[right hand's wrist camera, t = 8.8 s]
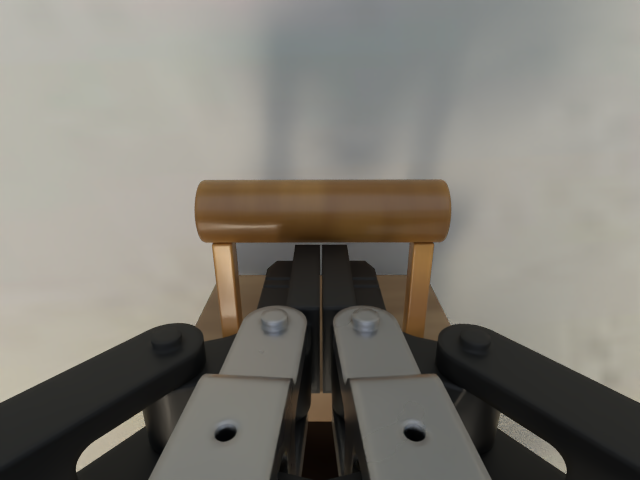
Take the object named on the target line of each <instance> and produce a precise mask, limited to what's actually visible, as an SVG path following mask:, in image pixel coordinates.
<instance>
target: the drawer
mask: <svg viewBox="0 0 640 480" xmlns="http://www.w3.org/2000/svg"><path fill="white" fill-rule="evenodd" d="M450 221H451V198H450V192H449V188H448V186H447V184H446V182H445V181H444V180H441V179H440V180H204V181H202V182H200V184H199V186H198V188H197V192H196V197H195V222H196V227H197V231H198V234H199V237H200V239H201V240H202V241H203V242H206V243H213V244H212V250H213V258H214V267H215V276H216V285H215V287H214V289H213V291H212V293H211V295H210V297H209V299H208V301H207V303H206V305H205V307H204V309H203V311H202V313H201V315H200V317H199V320H198V322H197V324H196V326H195V327H197V328H199V329H200V330H201V331H202V333H203V336H204V341H209V340H214V339H219V338H224V337H228V336H231V335H234V334H236V333H238V330H239V328H240V326H241V324H242V321H243V320H244V318H245V317H246V316H247V315H248V314H249V313H251V312H253V311H255V310H257V307H258V303H259V299H260V296H261V292H262V288H263V285H264V281H265V277H266V275H239V274H238V262H237V251H236V243H275V242H410V246H409V258H408V269H407V275H376V276H377V280H378V283H379V288H380V290H381V294H382V297H383V301H384V304H385V308H386V311H387V312H389V313H391V314H392V315H393V316H394V317H395V318H396V320H397V321H398V324H399V326H400V328H401V330H402V331H403V332H405V333H407V334H410V335H413V336H416V337H420V338H425V339H430V340H435V341H438V335H439V333H440V332H441V330H443V329H444V328H446V327H448V326H451V325H450V323H449V321H448V319H447V317H446V315H445V313H444V311H443V309H442V307H441V305H440V303H439V301H438V299H437V297H436V295H435V293H434V291H433V289H432V287H431V285H430V277H431V268H432V259H433V250H434V243H433V242H442V241H444V240H445V238H446V236H447V234H448V231H449V227H450ZM301 477H304V478H308V479H312V480H328V479H332V478H336V477H339V475H338V467H337V459H336V451H335V444H334V436H333V428H332V393H323V361H322V275H320V393H311V406H310V409H309V411H308V428H307V436H306V444H305V451H304V459H303V467H302V475H301Z"/></svg>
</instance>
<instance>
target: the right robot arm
mask: <svg viewBox="0 0 640 480" xmlns="http://www.w3.org/2000/svg"><path fill="white" fill-rule="evenodd" d="M322 361H323V393H332V428H333V436H334V444H335V451H336V459H337V467H338V475H339V477H336V478H332V479H328V480H640V403H638V402H636V401H634V400H632V399H630V398H628V397H626V396H624V395H622V394H620V393H618V392H616V391H614V390H612V389H610V388H608V387H606V386H604V385H602V384H600V383H598V382H596V381H594V380H592V379H590V378H588V377H586V376H584V375H582V374H580V373H578V372H575V371H573V370H571V369H569V368H567V367H565V366H563V365H561V364H559V363H557V362H555V361H553V360H551V359H549V358H547V357H545V356H543V355H541V354H539V353H537V352H535V351H533V350H531V349H529V348H527V347H525V346H523V345H521V344H519V343H517V342H515V341H512V340H510V339H508V338H506V337H504V336H502V335H500V334H498V333H496V332H494V331H492V330H490V329H487V328H484V327H481V326H477V325H471V324H456V325H451V326H448V327H446V328H444V329H443V330H441V332H440V333H439V335H438V341H435V340H430V339H425V338H420V337H416V336H413V335H410V334H407V333H405V332H403V331H402V330H401V328H400V326H399V324H398V321H397V320H396V318H395V317H394V316H393V315H392V314H391V313H389V312H387V311H386V308H385V304H384V301H383V297H382V294H381V290H380V288H379V283H378V280H377V276H376V272H375V269H374V268H373V267H372V266H370V265H369V264H368V263H367V262H366V261H349V255H348V249H347V245H322ZM311 393H320V245H295V251H294V257H293V261H277V262H275V263H274V264H273V265H272V266H271V267H269V268H268V270H267V273H266V277H265V281H264V285H263V288H262V292H261V296H260V299H259V303H258V307H257V310H255V311H253V312H251V313H249V314H248V315H247V316H246V317H245V318H244V320H243V321H242V324H241V326H240V328H239V330H238V333H236V334H234V335H231V336H228V337H224V338H219V339H214V340H209V341H204V336H203V333H202V331H201V330H200V329H199V328H197V327H195V326H193V325H190V324H184V323H173V324H166V325H162V326H158V327H155V328H152V329H150V330H148V331H146V332H144V333H142V334H140V335H138V336H136V337H134V338H132V339H130V340H128V341H126V342H123V343H121V344H119V345H117V346H115V347H113V348H111V349H109V350H107V351H105V352H103V353H101V354H99V355H97V356H95V357H93V358H91V359H89V360H87V361H85V362H83V363H81V364H79V365H77V366H75V367H73V368H71V369H69V370H67V371H65V372H62V373H60V374H58V375H56V376H54V377H52V378H50V379H48V380H46V381H44V382H42V383H40V384H38V385H36V386H34V387H32V388H30V389H28V390H26V391H24V392H22V393H20V394H18V395H16V396H14V397H12V398H10V399H8V400H6V401H4V402H2V403H0V480H312V479H308V478H304V477H301V475H302V467H303V459H304V451H305V444H306V436H307V428H308V411H309V409H310V406H311ZM142 410H143V415H144V420H145V425H146V426H145V427H144V428H142V429H141V430H139V431H138V432H136V433H135V434H133V435H132V436H130V437H129V438H127V439H126V440H124V441H123V442H121V443H120V444H118V445H117V446H115V447H114V448H112V449H111V450H110V451H108V452H107V453H105V454H104V455H102V456H101V457H99V458H98V459H96V460H95V461H93V462H92V463H90V464H89V465H87V466H86V467H84V468H83V469H81V470H80V471H78V472H77V473H76V464H77V461H78V459H79V457H80V455H81V454H82V452H83V451H84V450H85V449H86V448H87V447H88V446H89V445H90V444H91V443H92V442H94V441H95V440H97V439H98V438H100V437H101V436H103V435H105V434H106V433H108V432H109V431H111V430H112V429H114V428H116V427H117V426H119V425H120V424H122V423H123V422H125V421H126V420H128V419H130V418H131V417H133V416H134V415H136V414H137V413H139V412H141V411H142ZM500 412H501V413H503V414H504V415H506V416H507V417H509V418H510V419H512V420H514V421H515V422H517V423H518V424H520V425H521V426H523V427H524V428H526V429H528V430H529V431H531V432H532V433H534V434H535V435H537V436H539V437H540V438H542V439H543V440H545V441H546V442H548V443H549V444H551V445H552V446H553V447H554V448H555V449H556V450H557V451H558V452H559V453H560V455H561V456H562V458H563V459H564V461H565V464H566V467H567V474H565V473H563V472H562V471H560V470H559V469H557V468H556V467H554V466H553V465H551V464H550V463H548V462H547V461H545V460H544V459H542V458H541V457H539V456H538V455H536V454H535V453H533V452H532V451H530V450H529V449H528V448H526V447H525V446H523V445H522V444H520V443H519V442H517V441H516V440H514V439H513V438H511V437H510V436H508V435H507V434H505V433H504V432H502V431H501V430H499V429H498V428H497V426H498V421H499V416H500Z"/></svg>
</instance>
